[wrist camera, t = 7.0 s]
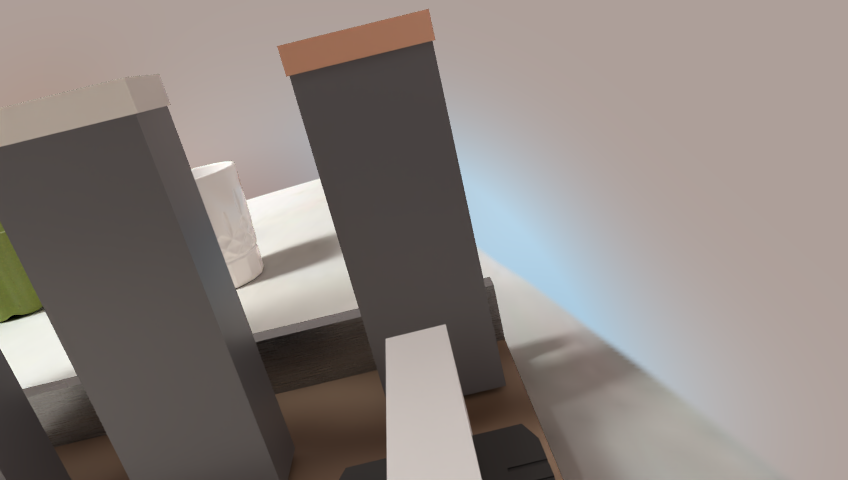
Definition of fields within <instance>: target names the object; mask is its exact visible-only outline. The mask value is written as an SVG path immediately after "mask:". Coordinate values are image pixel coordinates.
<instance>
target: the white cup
mask: <svg viewBox="0 0 848 480" xmlns="http://www.w3.org/2000/svg"><path fill="white" fill-rule="evenodd" d="M191 171H192V174H193V176H194V179H195V182H196V184H197V187H198V190H199V192H200V195H201V198H202V200H203V203H204V206H205V208H206V211H207V214H208V216H209V219H210V222H211V224H212V227H213V230H214V232H215V235H216V238H217V240H218V243H219V246H220V248H221V251H222V254H223V257H224V259H225V262H226V265H227V267H228V270H229V273H230V275H231V278H232V281H233V283H234V286H235V288H238V287H240V286H242V285H244V284H246V283H248V282H250V281H252V280H253V279H255V278H256V277H257V276H258V275H260V274H261V273H262V271H263V267H264V264H263V261H262V258H261V255H260V251H259V248H258V245H257V244H256V242H257V239H256V234H255V230H254V228H253V225H252V220H251V216H250V212H249V209H248V206H247V202H246V199H245V196H244V192H243V189H242V186H241V183H240V179H239V176H238V172H237V169H236V166H235V162H233V161H226V162H220V163H214V164H209V165H205V166H201V167H197V168H193V169H191Z"/></svg>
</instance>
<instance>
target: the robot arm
mask: <svg viewBox="0 0 848 480" xmlns="http://www.w3.org/2000/svg"><path fill="white" fill-rule="evenodd" d="M386 436H387V458H384V459H380V460H376V461H372V462H368V463H364V464H359V465H355V466H351V467H347V468H345V470H344V472H343V473H342V475H341V477H340V479H339V480H555V477H554V474H553V471H552V469H551V466H550V464H549V463H548V459H547V457H546V454H545V452H544V449H543V447H542V444H541V442H540V439H539V438H538V437H537V436H536V435H535V434H533V433H532V432H531V431H530V430H529V429H528V428H526V427H525V426H524V425H523V424H517V425H513V426H509V427H505V428H501V429H497V430H493V431H488V432H484V433H480V434H476V435H473V434H472V430H471V426H470V421H469V417H468V413H467V409H466V405H465V401H464V397H463V393H462V389H461V385H460V381H459V377H458V373H457V368H456V364H455V360H454V356H453V352H452V348H451V344H450V340H449V336H448V332H447V328H446V324H444V325H440V326H436V327H432V328H428V329H424V330H420V331H415V332H411V333H407V334H403V335H399V336H395V337H391V338H387V339H386Z"/></svg>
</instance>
